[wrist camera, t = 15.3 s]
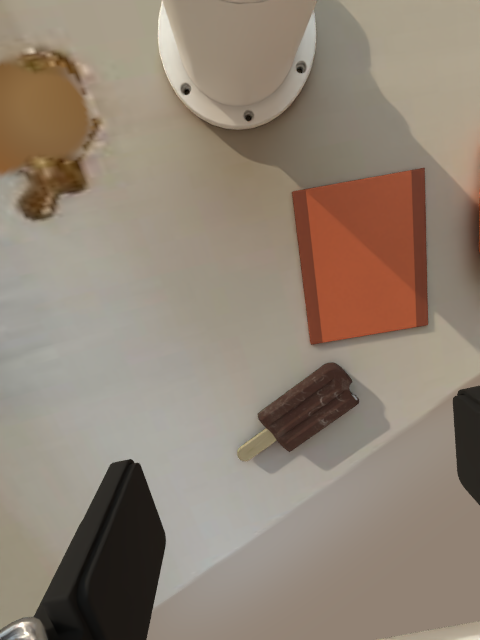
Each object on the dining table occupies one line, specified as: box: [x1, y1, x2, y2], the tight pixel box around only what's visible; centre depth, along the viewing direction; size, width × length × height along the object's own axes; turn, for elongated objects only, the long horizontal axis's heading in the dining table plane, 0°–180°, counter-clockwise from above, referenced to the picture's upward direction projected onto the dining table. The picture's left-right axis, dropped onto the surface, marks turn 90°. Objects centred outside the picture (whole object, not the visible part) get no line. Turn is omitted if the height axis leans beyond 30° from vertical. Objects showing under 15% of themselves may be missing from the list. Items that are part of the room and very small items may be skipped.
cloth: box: [292, 168, 428, 345], centre depth 34 cm, size 15×12×1 cm
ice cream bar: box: [237, 363, 359, 461], centre depth 38 cm, size 5×2×15 cm
